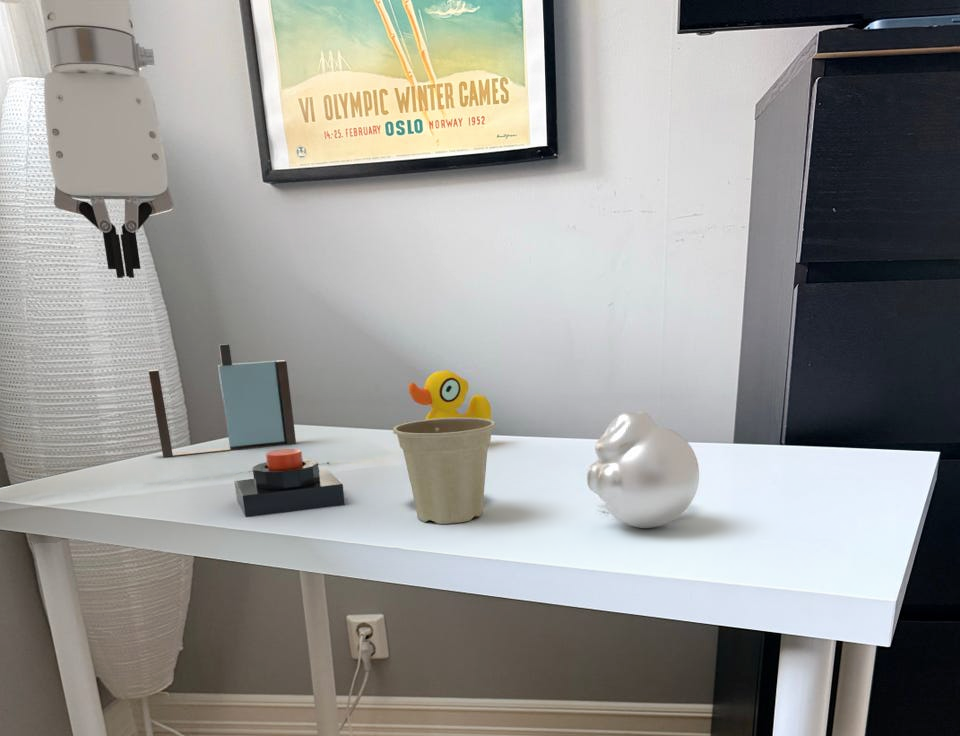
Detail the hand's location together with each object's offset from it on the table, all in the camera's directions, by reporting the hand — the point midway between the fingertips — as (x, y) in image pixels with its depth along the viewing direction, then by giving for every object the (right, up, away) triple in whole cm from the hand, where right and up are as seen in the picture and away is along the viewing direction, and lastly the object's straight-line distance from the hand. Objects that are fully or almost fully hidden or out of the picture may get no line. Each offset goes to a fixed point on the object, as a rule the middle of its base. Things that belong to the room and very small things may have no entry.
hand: (125, 277), depth 91 cm
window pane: (+5, -10, +31) cm, 33 cm away
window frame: (+2, -12, +31) cm, 34 cm away
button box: (+15, -21, +6) cm, 27 cm away
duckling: (+31, -10, +32) cm, 46 cm away
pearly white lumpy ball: (+49, -26, -9) cm, 56 cm away
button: (+15, -18, +5) cm, 24 cm away
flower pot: (+32, -24, -2) cm, 40 cm away
